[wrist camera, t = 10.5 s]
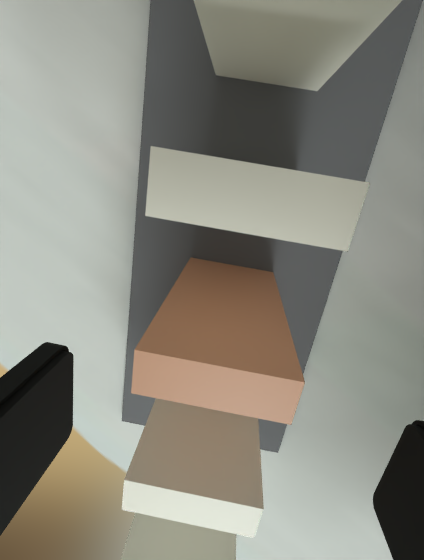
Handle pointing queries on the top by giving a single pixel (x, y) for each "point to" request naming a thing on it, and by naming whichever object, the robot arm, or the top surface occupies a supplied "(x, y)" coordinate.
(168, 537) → the domino
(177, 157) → the domino
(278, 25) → the domino
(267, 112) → the mat
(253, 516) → the domino
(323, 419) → the top surface
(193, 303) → the terracotta domino
